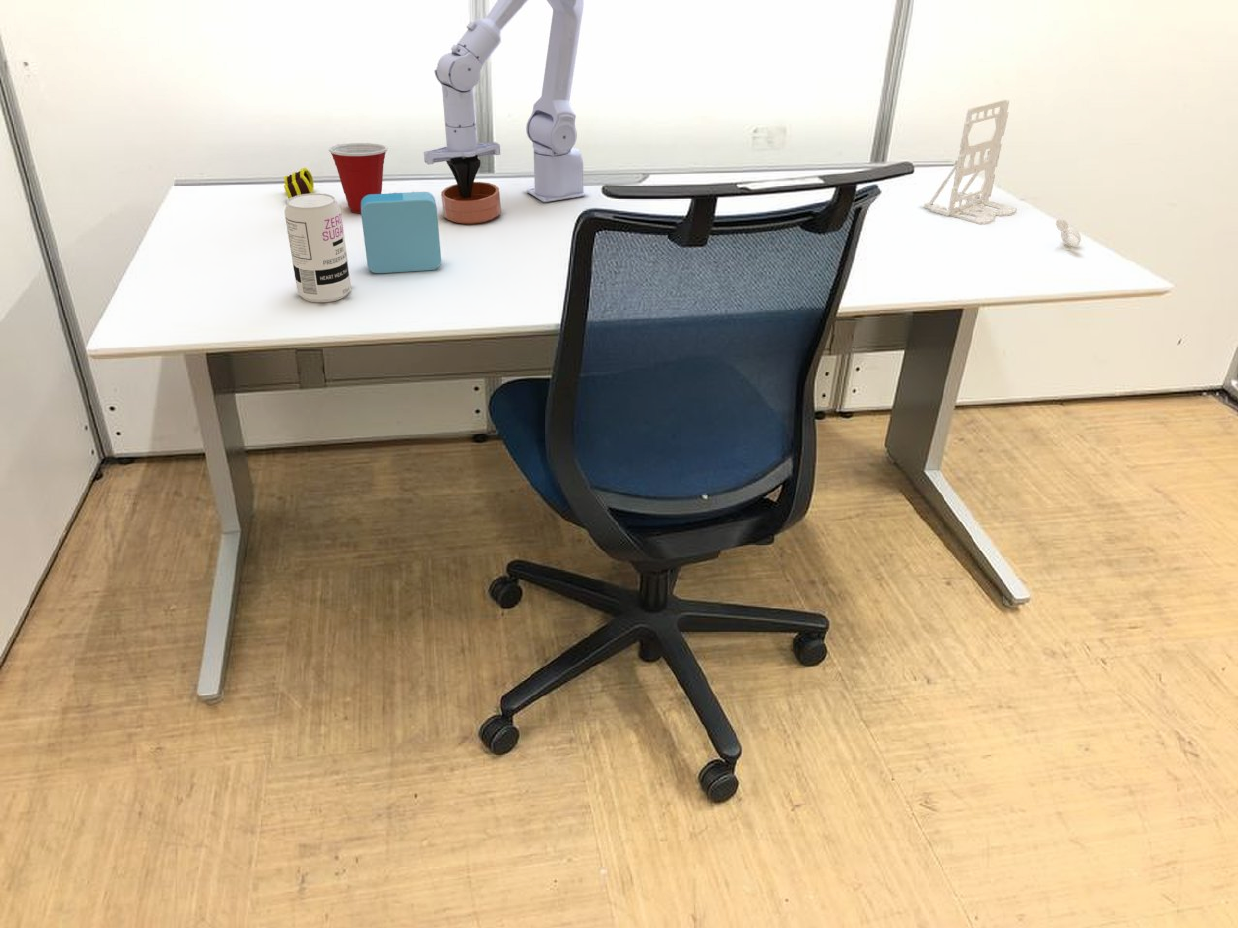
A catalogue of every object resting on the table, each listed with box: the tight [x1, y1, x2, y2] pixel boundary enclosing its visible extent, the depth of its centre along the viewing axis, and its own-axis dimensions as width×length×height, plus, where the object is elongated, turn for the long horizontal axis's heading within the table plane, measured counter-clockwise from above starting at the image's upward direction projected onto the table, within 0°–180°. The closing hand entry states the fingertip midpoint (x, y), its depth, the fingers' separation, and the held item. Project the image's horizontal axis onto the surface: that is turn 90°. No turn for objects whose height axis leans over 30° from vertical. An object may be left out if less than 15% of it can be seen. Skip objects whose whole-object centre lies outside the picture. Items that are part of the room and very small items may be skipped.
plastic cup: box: [328, 142, 389, 214], centre depth 192 cm, size 11×11×12 cm
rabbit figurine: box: [1055, 218, 1082, 251], centre depth 181 cm, size 6×4×8 cm
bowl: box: [440, 181, 502, 225], centre depth 191 cm, size 11×11×5 cm
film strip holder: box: [923, 99, 1018, 225], centre depth 194 cm, size 14×14×20 cm
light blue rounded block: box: [360, 191, 442, 274], centre depth 166 cm, size 12×4×12 cm, turn 102°
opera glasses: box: [283, 167, 315, 200], centre depth 200 cm, size 10×5×5 cm, turn 15°
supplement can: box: [284, 192, 352, 303], centre depth 155 cm, size 8×8×15 cm
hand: (465, 196), depth 193 cm, fingers closed
